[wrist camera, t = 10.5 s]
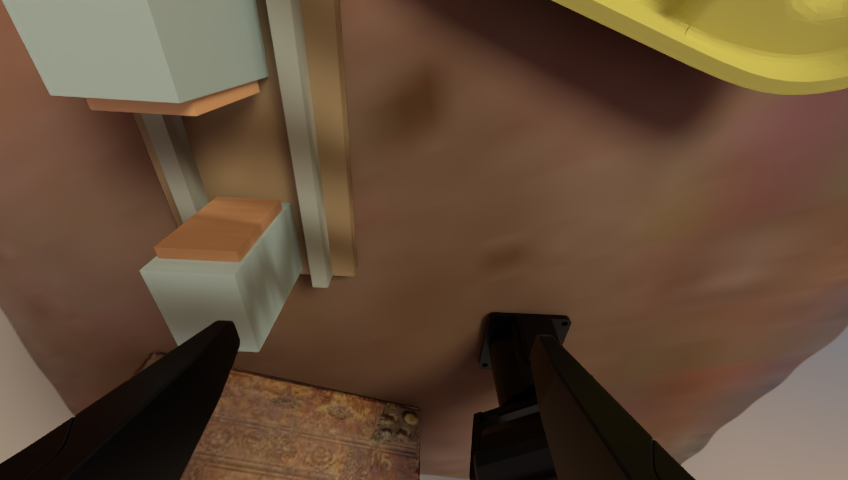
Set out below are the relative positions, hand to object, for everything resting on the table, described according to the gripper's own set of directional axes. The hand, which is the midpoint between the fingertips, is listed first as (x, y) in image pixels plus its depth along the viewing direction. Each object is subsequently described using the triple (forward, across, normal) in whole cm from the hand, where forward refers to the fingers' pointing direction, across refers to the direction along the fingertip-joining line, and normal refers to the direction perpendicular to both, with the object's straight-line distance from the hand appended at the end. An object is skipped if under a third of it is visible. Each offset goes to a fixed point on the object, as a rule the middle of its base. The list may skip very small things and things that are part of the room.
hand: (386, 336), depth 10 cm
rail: (+12, +9, -2) cm, 16 cm away
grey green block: (+11, +9, -8) cm, 16 cm away
